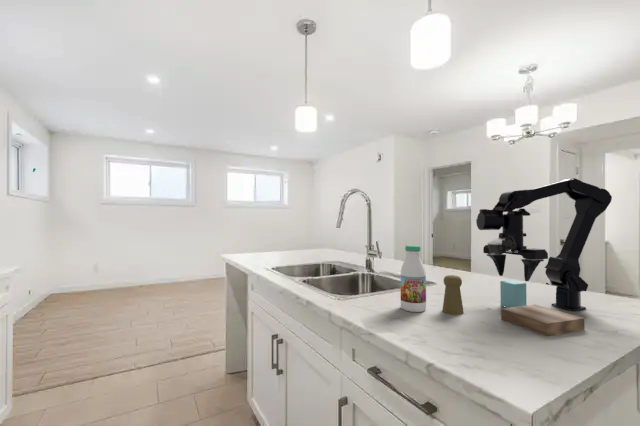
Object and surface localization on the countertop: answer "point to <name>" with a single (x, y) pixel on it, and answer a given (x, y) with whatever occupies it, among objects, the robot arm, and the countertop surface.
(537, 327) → the wooden board
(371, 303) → the countertop surface
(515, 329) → the countertop surface
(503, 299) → the teal block
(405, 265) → the milk bottle
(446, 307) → the cork
